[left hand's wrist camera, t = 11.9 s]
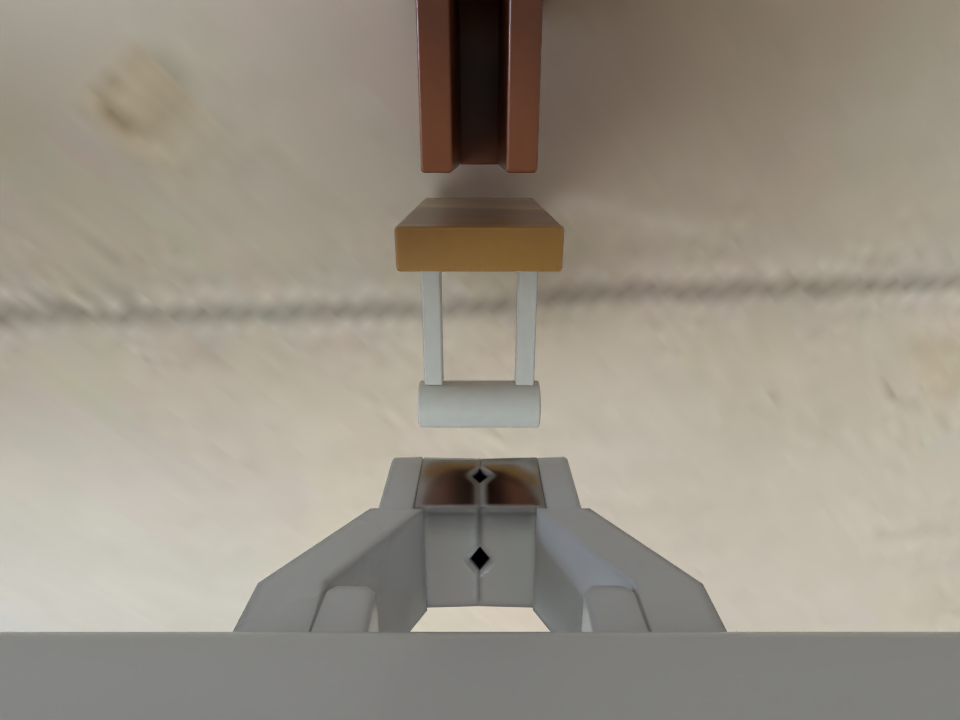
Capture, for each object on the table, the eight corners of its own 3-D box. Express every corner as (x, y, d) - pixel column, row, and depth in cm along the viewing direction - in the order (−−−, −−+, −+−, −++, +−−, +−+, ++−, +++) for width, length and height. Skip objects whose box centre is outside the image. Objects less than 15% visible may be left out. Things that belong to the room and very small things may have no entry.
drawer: (528, 356, 26) (553, 461, 18) (429, 356, 26) (405, 461, 18) (548, -280, 19) (608, -657, 10) (410, -281, 19) (350, -657, 10)
